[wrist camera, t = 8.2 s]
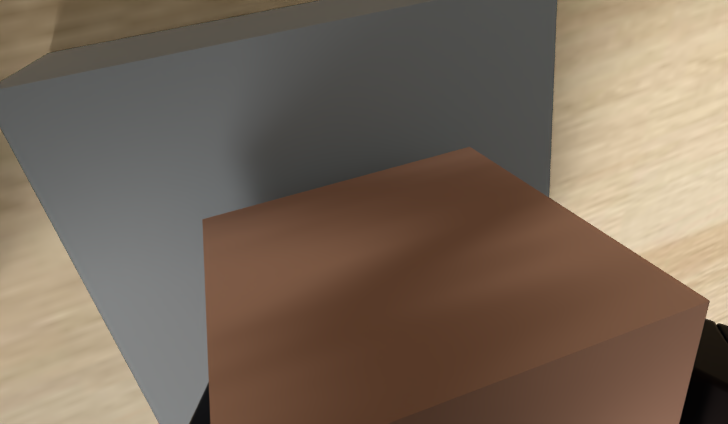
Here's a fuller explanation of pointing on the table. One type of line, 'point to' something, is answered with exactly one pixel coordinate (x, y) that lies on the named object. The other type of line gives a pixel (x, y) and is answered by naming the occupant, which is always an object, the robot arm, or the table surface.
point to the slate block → (258, 139)
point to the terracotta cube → (439, 307)
